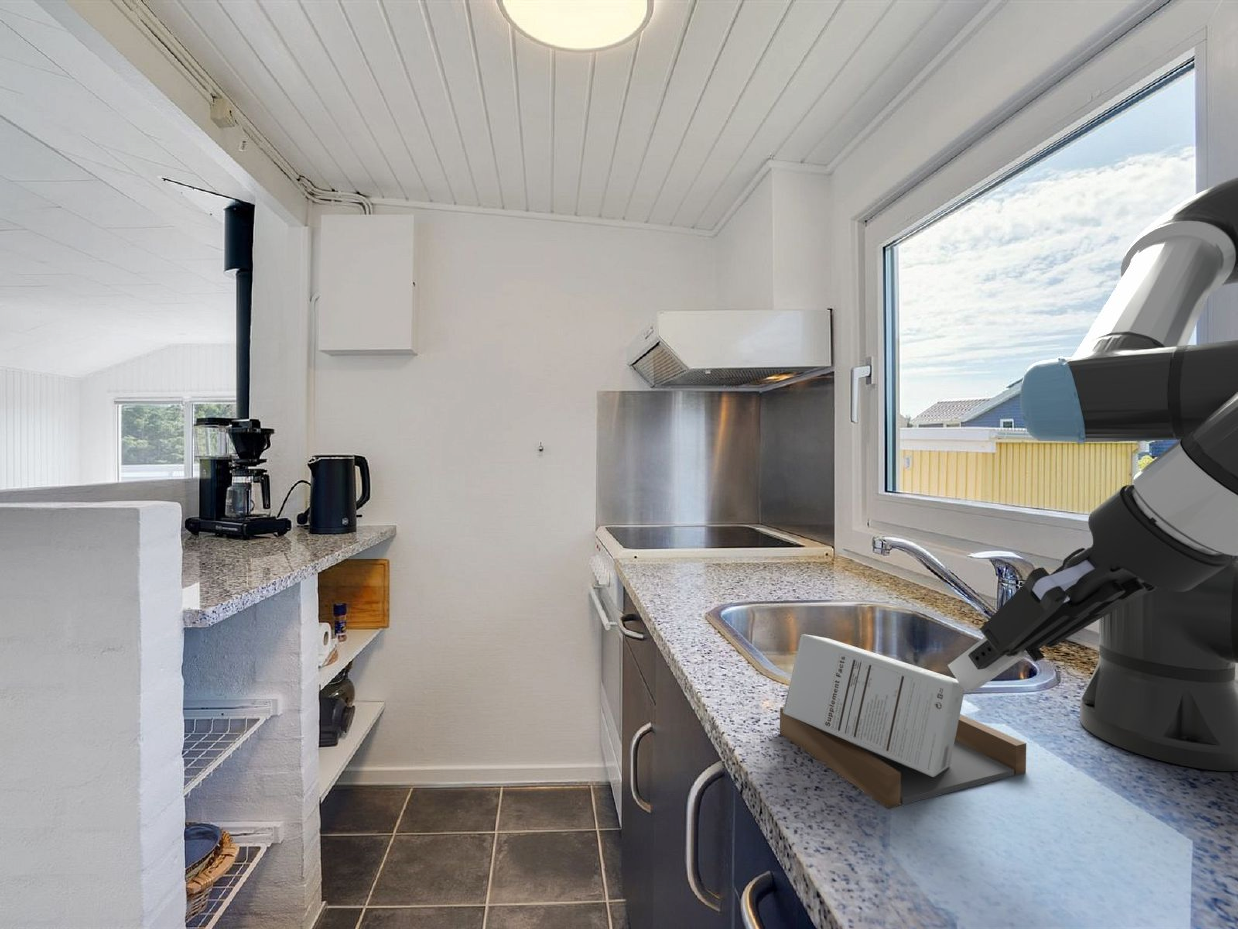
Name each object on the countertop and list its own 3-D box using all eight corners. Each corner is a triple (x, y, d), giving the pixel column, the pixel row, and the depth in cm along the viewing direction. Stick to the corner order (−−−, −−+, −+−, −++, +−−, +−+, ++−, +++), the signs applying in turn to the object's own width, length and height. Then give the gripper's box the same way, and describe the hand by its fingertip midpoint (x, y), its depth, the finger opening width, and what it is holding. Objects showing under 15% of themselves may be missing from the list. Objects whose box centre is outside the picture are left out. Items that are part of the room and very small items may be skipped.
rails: (900, 711, 76) (900, 687, 76) (1025, 772, 61) (1026, 743, 61) (779, 733, 69) (780, 707, 69) (887, 808, 54) (888, 775, 54)
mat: (889, 712, 75) (889, 708, 75) (1014, 775, 60) (1014, 769, 60) (792, 731, 70) (792, 725, 70) (902, 804, 55) (902, 798, 55)
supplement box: (950, 769, 61) (810, 711, 71) (968, 681, 62) (827, 636, 72) (933, 781, 54) (780, 714, 64) (953, 682, 55) (799, 631, 65)
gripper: (1174, 567, 37) (936, 727, 52) (1281, 557, 42) (1034, 706, 57) (1080, 479, 42) (888, 648, 57) (1186, 479, 47) (983, 636, 62)
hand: (961, 677), depth 57 cm, fingers closed
